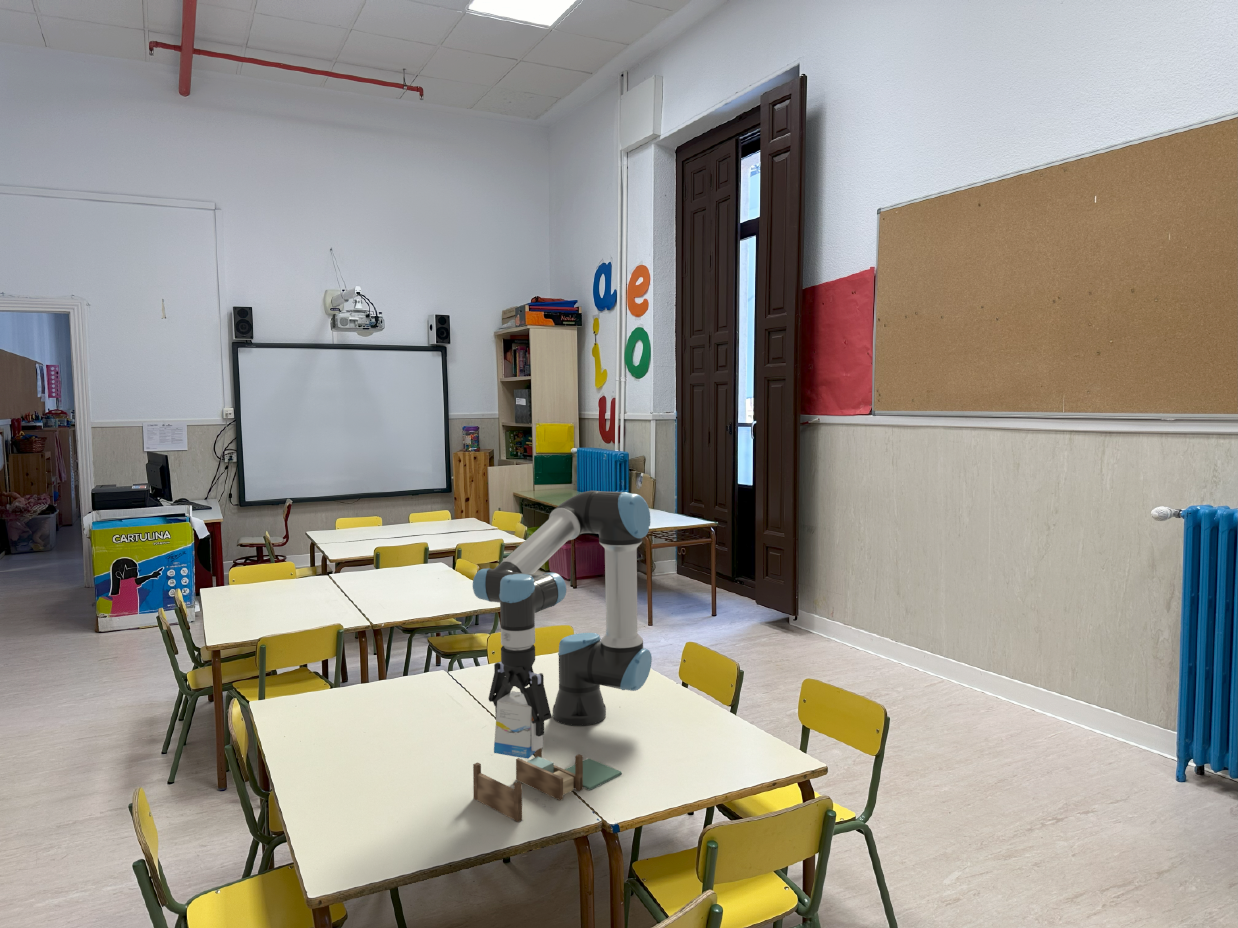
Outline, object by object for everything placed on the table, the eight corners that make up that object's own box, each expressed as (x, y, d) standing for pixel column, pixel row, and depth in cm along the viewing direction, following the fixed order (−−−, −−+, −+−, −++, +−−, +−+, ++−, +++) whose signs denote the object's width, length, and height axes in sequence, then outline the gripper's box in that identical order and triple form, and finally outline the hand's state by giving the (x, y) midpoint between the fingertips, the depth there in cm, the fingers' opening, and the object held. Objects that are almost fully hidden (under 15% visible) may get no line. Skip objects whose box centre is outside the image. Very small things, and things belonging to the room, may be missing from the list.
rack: (473, 798, 180) (473, 764, 179) (538, 769, 195) (538, 737, 194) (517, 821, 170) (517, 785, 169) (582, 789, 185) (582, 755, 184)
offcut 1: (525, 772, 189) (525, 762, 189) (537, 765, 192) (537, 756, 192) (540, 778, 185) (540, 768, 185) (553, 772, 189) (553, 762, 188)
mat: (556, 775, 191) (556, 772, 191) (588, 760, 200) (588, 757, 200) (589, 790, 184) (589, 787, 184) (621, 773, 192) (621, 771, 192)
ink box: (528, 759, 174) (531, 706, 174) (492, 753, 176) (495, 700, 176) (542, 745, 182) (545, 694, 182) (508, 739, 185) (511, 689, 184)
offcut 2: (544, 789, 185) (544, 776, 184) (559, 783, 188) (559, 770, 188) (558, 797, 181) (558, 783, 181) (573, 790, 184) (573, 777, 184)
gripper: (471, 638, 182) (473, 731, 184) (541, 661, 167) (542, 762, 169) (497, 631, 188) (498, 721, 190) (567, 652, 172) (568, 750, 174)
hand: (519, 741), depth 179 cm, fingers closed on ink box, 11 cm apart
